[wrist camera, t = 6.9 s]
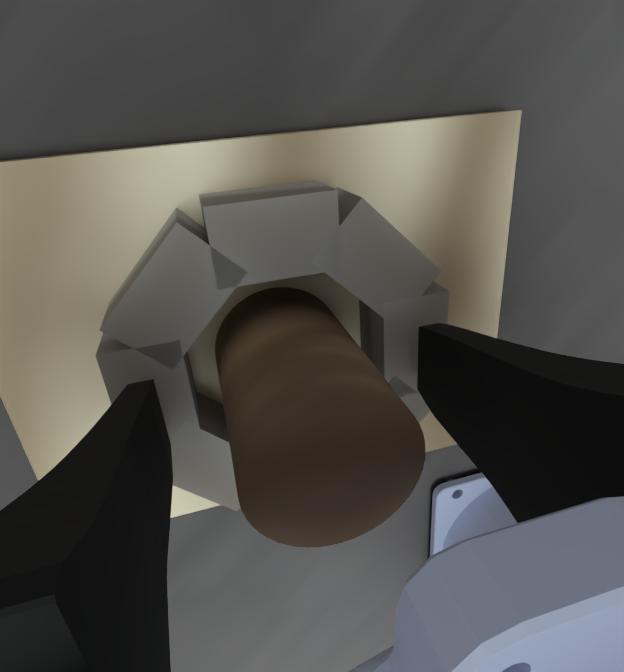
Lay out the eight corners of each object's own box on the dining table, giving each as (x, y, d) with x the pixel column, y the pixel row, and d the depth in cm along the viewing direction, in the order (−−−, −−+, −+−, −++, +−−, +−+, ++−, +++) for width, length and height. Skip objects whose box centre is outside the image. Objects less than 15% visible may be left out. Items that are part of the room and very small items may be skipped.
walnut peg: (342, 283, 14) (438, 379, 9) (336, 394, 16) (413, 528, 11) (211, 290, 13) (232, 402, 8) (218, 407, 15) (240, 563, 10)
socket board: (504, 110, 14) (573, 108, 12) (475, 425, 20) (518, 469, 17) (-84, 168, 11) (-156, 183, 9) (71, 526, 16) (53, 597, 14)
